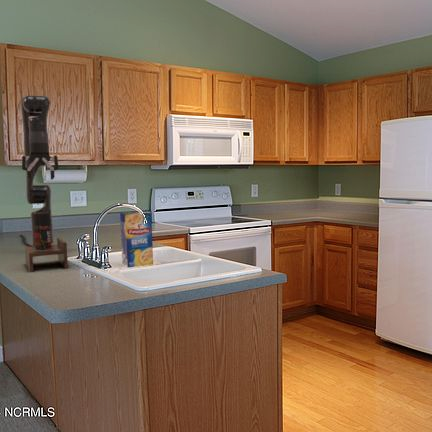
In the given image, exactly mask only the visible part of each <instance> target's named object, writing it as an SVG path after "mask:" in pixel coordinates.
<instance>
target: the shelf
mask: <svg viewBox="0 0 432 432" xmlns="http://www.w3.org/2000/svg"><path fill="white" fill-rule="evenodd" d="M56 242H57V244H54V245H51V247H52V249H49V250H36V246H32V247H31V246H25V247H24V253H25V265H26V267H27V268H28V271H29V272H30V273H32V272H34V258H35V257H45V256H57V261H58V263H59V264H60V265H61V266H62V267H63V268H64V269H68V268H69V263H68V261H69V260H68V244H67V242H66V241H65V240H64V239H63V238H61V237H56Z"/></svg>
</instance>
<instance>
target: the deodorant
mask: <svg viewBox="0 0 432 432" xmlns="http://www.w3.org/2000/svg"><path fill="white" fill-rule="evenodd" d="M34 227H35V244H36V250H49V249H52V247H51V229H50V213H49V212H42V213H34Z"/></svg>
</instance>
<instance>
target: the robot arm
mask: <svg viewBox="0 0 432 432" xmlns="http://www.w3.org/2000/svg"><path fill="white" fill-rule="evenodd" d="M50 108H51V100H50V98H49V97H48V96H46V95H35V94H34V95H33V94H28V95H24V96H23V97H21V99H20V111H21V112H20V113H21V120H22V121H21V122H22V131H23V154H24V155H22V156H21V170H23V171H25V197H26V202H27V203H28V204H29V205H39V204H40V205H41V204H43V206H42V207H40V208H39V209H36V210H33V211H31V212H30V223H31V224H30V225H31V241H32V244H29V243H27V242H26V241H25V235H23V234H19V237H22V243H23V244H25V245H26V246H27V247H32V246H36V244H35V227H34V213H42V212H49V213H50V229H51V245H55V244H54V234H53V233H54V231H53V215H52V189H51V186H50V185H49V184H34V180H35V178H36V175H37V174H38V171H39V170H40V169H41V167H45V166H46V167H47V168H48V169H49V170H50V172H49V173H50V174H49V175H50V180H52V181H53V180H54V179H55V171H58V170H59V169H60V168H59V159H58V155H50V144H49V142H50V140H49V135H48V116H49V111H50ZM50 160H51V161H53V163H54V167H53V166H52V164H51V163H50Z"/></svg>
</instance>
